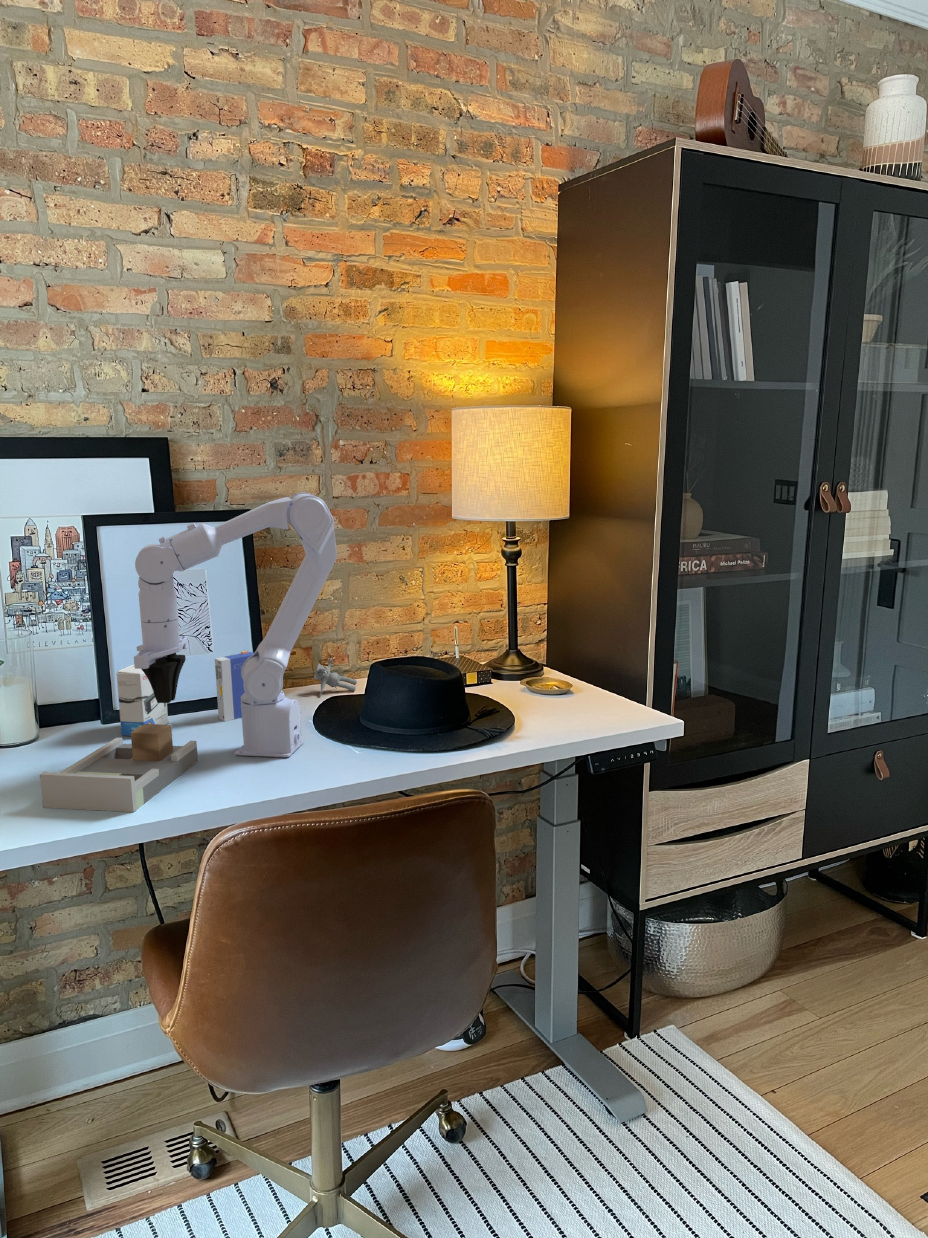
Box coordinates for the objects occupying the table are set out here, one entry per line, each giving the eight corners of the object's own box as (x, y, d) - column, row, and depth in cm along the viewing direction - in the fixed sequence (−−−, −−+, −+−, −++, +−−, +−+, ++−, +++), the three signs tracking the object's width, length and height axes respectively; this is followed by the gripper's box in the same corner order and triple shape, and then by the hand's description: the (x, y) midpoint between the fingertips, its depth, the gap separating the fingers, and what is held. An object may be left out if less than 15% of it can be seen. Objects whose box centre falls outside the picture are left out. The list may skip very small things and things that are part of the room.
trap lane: (197, 761, 151) (195, 732, 150) (133, 812, 131) (130, 778, 130) (118, 757, 153) (115, 729, 152) (43, 807, 133) (39, 774, 132)
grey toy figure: (354, 699, 186) (311, 685, 185) (347, 713, 191) (305, 700, 189) (364, 660, 193) (323, 646, 191) (357, 674, 197) (317, 662, 196)
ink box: (145, 737, 164) (139, 673, 161) (120, 736, 165) (114, 672, 162) (169, 723, 172) (165, 661, 170) (145, 721, 173) (140, 660, 171)
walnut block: (173, 751, 148) (171, 724, 148) (160, 761, 144) (157, 733, 143) (147, 750, 149) (144, 723, 148) (133, 760, 145) (130, 732, 144)
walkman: (253, 709, 179) (250, 649, 177) (261, 712, 177) (257, 652, 175) (217, 718, 174) (212, 656, 172) (224, 721, 172) (220, 659, 170)
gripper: (157, 610, 155) (163, 688, 158) (112, 628, 141) (120, 713, 144) (197, 611, 154) (202, 689, 157) (155, 629, 140) (162, 714, 143)
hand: (166, 701), depth 150 cm, fingers closed
